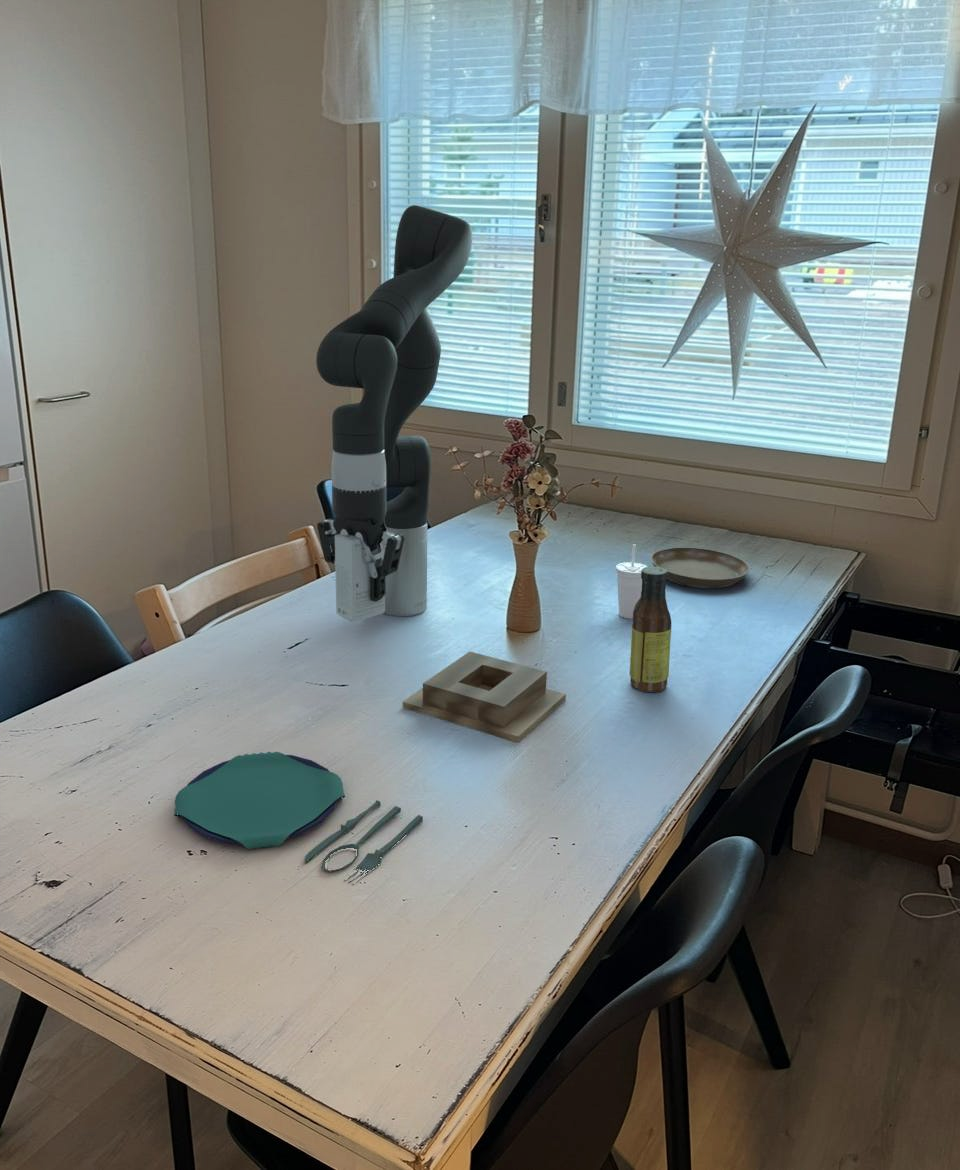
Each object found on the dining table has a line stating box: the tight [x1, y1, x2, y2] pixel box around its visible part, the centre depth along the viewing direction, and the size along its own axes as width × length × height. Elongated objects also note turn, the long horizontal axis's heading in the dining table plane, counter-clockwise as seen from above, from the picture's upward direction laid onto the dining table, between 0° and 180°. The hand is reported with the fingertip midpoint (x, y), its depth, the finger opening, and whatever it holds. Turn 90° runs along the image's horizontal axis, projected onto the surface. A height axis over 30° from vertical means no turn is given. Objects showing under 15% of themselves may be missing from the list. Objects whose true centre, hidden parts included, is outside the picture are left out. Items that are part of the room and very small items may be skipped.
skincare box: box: [334, 534, 385, 623], centre depth 141 cm, size 6×4×12 cm
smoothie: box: [615, 543, 649, 620], centre depth 186 cm, size 6×6×14 cm
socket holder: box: [402, 651, 567, 743], centre depth 152 cm, size 20×16×4 cm
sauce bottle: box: [629, 566, 672, 693], centre depth 157 cm, size 7×6×20 cm
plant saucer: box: [650, 546, 750, 589], centre depth 211 cm, size 21×21×3 cm
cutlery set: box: [173, 751, 424, 874], centre depth 123 cm, size 20×30×2 cm, turn 59°
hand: (361, 595), depth 142 cm, fingers closed on skincare box, 5 cm apart
